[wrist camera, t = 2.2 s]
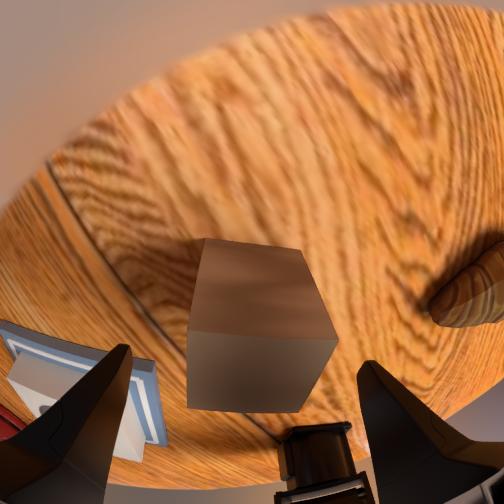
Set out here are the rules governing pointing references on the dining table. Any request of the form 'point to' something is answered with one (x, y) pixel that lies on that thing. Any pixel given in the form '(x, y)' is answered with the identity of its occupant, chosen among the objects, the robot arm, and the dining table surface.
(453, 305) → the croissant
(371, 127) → the dining table surface
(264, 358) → the walnut block
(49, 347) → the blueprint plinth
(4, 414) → the plant pot
